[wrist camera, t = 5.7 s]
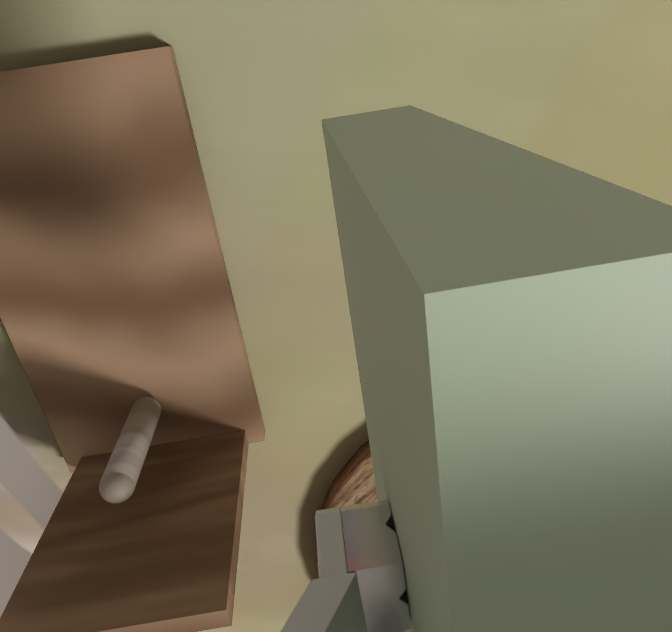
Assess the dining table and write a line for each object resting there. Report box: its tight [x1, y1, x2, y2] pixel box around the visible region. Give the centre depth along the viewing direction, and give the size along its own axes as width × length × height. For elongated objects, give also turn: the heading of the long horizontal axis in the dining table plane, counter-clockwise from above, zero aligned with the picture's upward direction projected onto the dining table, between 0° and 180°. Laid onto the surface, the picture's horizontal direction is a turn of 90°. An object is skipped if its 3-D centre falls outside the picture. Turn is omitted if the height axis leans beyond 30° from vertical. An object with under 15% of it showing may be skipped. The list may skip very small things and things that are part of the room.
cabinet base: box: [0, 46, 265, 632], centre depth 24 cm, size 22×12×13 cm, turn 8°
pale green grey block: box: [322, 105, 672, 632], centre depth 11 cm, size 16×4×10 cm, turn 8°
